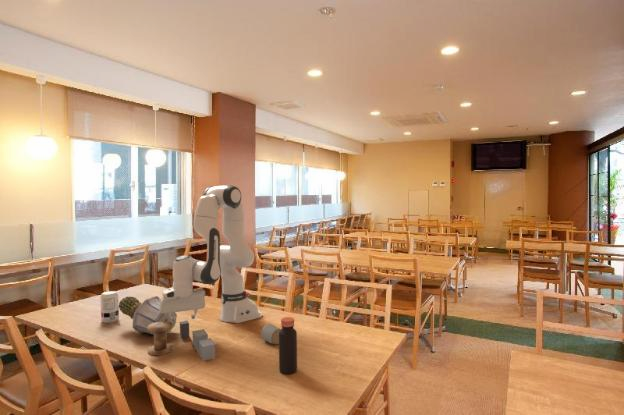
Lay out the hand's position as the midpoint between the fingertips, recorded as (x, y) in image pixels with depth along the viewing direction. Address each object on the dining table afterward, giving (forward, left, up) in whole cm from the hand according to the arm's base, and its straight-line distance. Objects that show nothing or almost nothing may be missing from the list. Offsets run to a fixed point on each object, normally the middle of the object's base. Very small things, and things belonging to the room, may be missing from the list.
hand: (182, 320), depth 178 cm
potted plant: (+14, -17, -9) cm, 24 cm away
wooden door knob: (+11, +10, -8) cm, 17 cm away
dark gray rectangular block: (-1, 0, -8) cm, 8 cm away
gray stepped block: (-5, +20, -8) cm, 22 cm away
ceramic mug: (-36, +25, -9) cm, 45 cm away
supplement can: (+29, -43, -9) cm, 53 cm away
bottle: (-29, +54, -9) cm, 61 cm away
